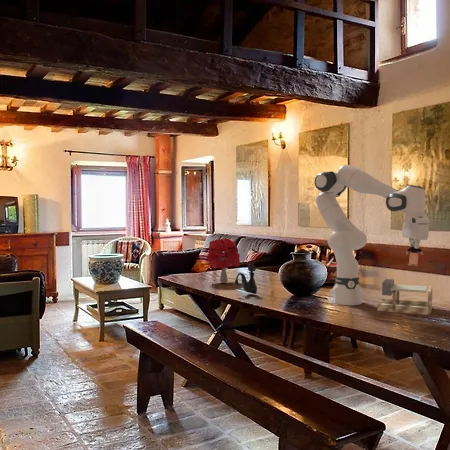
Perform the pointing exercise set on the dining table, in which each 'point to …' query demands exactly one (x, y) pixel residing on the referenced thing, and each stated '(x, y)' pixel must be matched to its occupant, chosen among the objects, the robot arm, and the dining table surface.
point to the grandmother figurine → (413, 254)
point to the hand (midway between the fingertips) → (414, 248)
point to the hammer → (400, 287)
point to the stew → (331, 271)
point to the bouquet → (223, 256)
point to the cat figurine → (250, 285)
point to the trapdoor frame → (407, 304)
